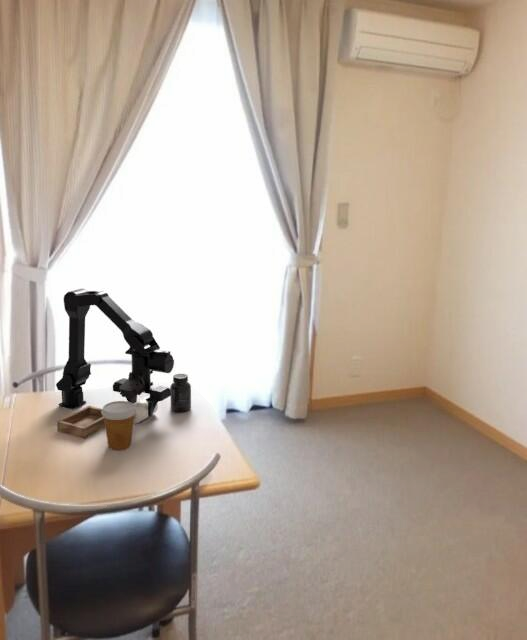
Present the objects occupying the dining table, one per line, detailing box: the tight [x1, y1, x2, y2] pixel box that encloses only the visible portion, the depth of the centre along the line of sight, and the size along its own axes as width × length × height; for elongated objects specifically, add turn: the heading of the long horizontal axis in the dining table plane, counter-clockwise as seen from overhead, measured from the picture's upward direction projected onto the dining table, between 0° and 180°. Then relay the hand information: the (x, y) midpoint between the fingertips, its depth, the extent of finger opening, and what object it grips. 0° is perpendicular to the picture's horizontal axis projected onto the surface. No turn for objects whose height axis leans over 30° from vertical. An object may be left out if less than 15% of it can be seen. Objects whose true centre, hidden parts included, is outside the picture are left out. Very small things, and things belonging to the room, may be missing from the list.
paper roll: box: [133, 395, 159, 425], centre depth 179 cm, size 10×6×6 cm, turn 156°
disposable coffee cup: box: [101, 400, 136, 451], centre depth 160 cm, size 10×10×12 cm
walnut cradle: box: [56, 405, 105, 440], centre depth 172 cm, size 10×14×3 cm
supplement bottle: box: [169, 373, 192, 414], centre depth 186 cm, size 7×7×12 cm
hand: (141, 414), depth 179 cm, fingers closed on paper roll, 6 cm apart
